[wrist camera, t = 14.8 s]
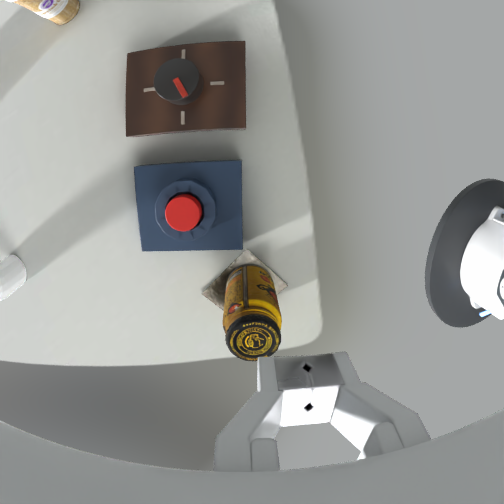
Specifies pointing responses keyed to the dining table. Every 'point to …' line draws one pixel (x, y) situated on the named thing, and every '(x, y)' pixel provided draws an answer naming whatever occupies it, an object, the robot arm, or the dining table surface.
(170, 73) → the dial
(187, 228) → the button
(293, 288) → the dining table surface
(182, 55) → the dial panel
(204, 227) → the button housing
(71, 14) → the sprinkles bottle
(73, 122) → the dining table surface
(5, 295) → the capsule
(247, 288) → the condiment
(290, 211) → the dining table surface
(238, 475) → the robot arm
